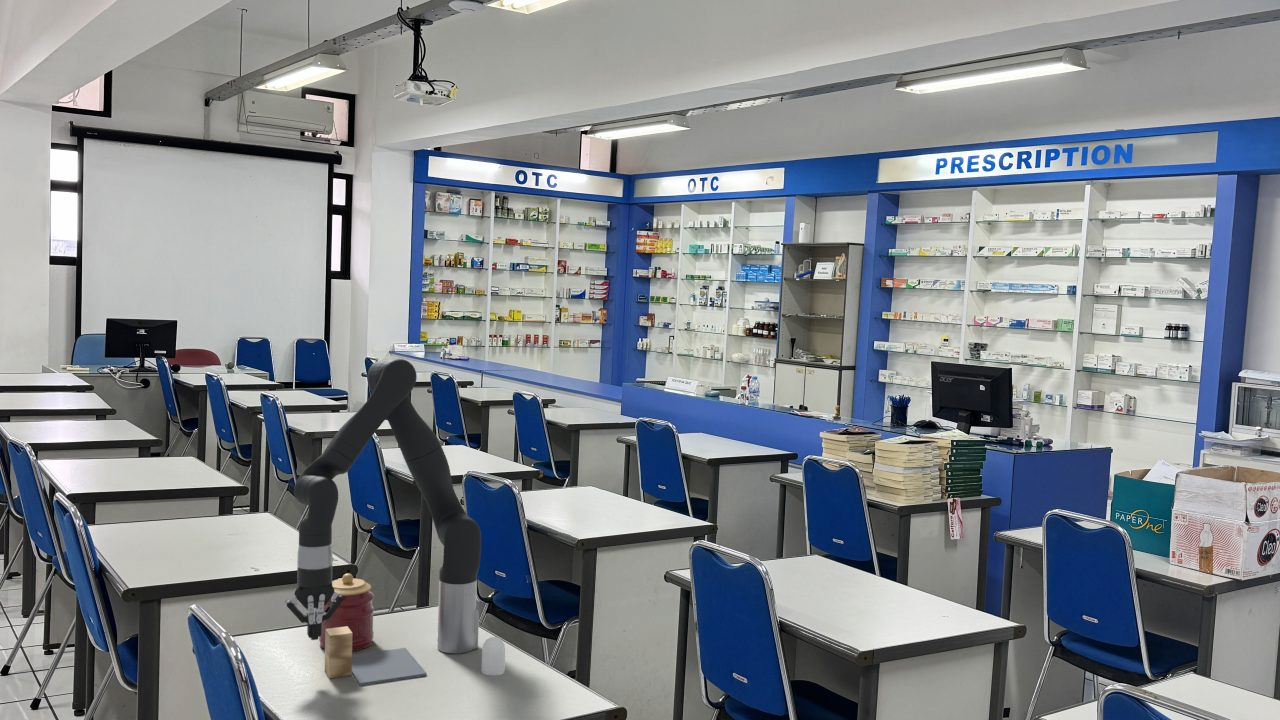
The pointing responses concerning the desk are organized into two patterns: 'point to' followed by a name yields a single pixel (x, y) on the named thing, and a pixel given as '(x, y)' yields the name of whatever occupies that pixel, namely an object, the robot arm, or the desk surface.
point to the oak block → (338, 652)
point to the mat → (385, 666)
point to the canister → (352, 611)
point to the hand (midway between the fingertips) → (314, 638)
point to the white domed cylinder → (493, 656)
